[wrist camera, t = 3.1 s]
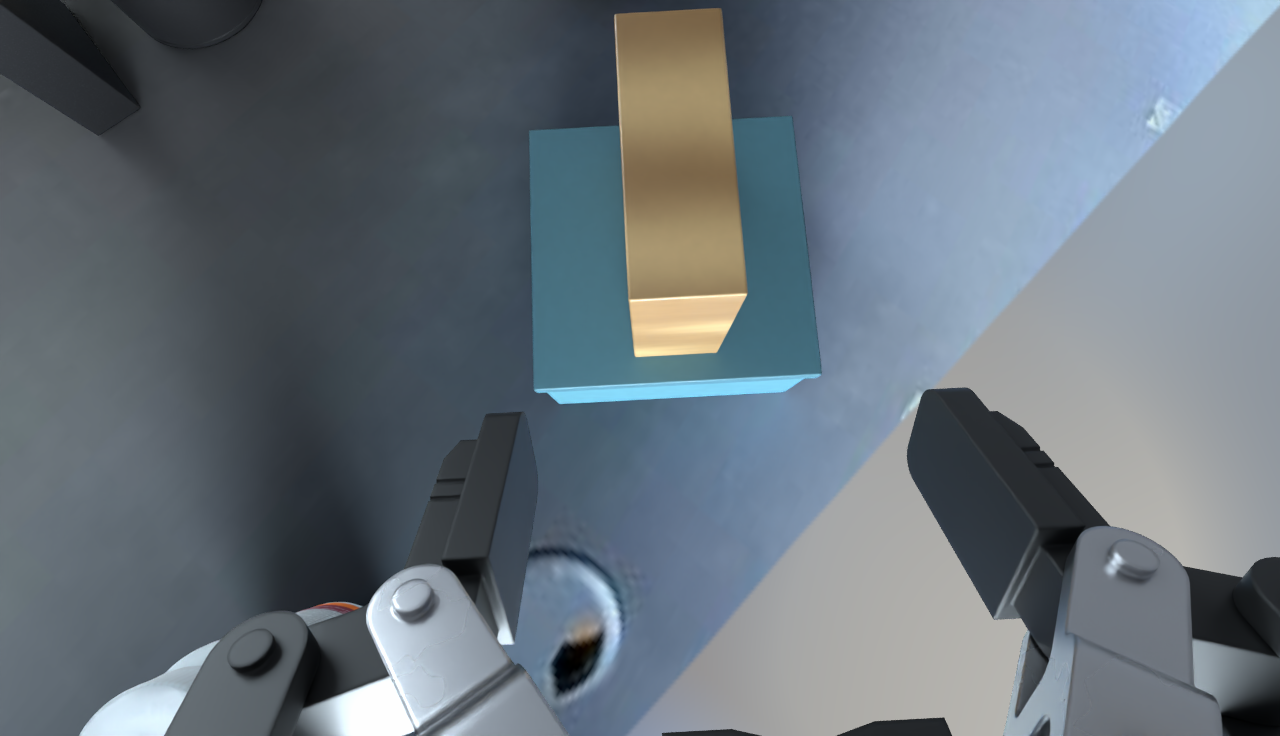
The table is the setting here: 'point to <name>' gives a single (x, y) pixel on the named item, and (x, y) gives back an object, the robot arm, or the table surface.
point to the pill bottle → (173, 689)
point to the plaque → (678, 181)
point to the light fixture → (75, 69)
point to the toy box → (597, 275)
